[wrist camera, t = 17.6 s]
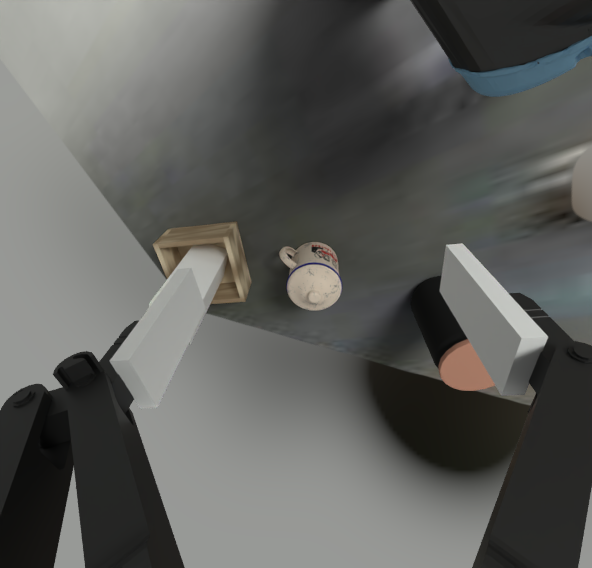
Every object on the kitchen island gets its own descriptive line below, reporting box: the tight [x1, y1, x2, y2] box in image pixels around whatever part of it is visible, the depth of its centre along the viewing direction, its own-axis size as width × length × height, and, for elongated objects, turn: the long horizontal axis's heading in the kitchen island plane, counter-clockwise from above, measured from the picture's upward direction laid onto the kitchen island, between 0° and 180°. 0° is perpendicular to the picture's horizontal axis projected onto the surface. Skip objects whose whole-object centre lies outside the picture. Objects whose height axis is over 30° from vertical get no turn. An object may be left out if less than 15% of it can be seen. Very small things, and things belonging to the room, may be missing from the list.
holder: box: [153, 222, 251, 304], centre depth 55 cm, size 13×13×6 cm
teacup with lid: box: [279, 242, 342, 310], centre depth 52 cm, size 12×9×12 cm
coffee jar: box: [411, 276, 495, 391], centre depth 53 cm, size 11×11×18 cm
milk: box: [148, 244, 228, 345], centre depth 48 cm, size 6×6×22 cm
